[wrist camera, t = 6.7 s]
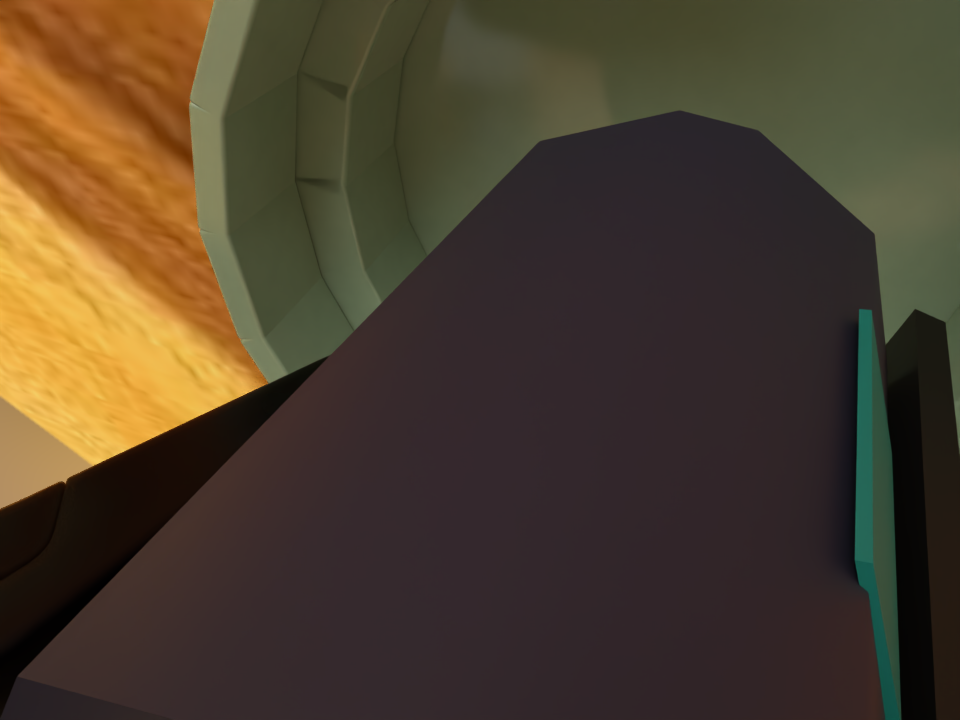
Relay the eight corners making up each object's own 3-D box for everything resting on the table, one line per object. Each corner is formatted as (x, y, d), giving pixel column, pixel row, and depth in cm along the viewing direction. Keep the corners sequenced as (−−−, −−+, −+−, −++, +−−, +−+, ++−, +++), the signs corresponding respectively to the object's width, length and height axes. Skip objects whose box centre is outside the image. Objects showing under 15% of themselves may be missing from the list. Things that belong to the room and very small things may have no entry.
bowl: (1299, 287, 13) (1496, 516, 9) (605, 517, 21) (558, 681, 18) (845, -664, 9) (859, -968, 5) (220, 100, 17) (55, 199, 14)
